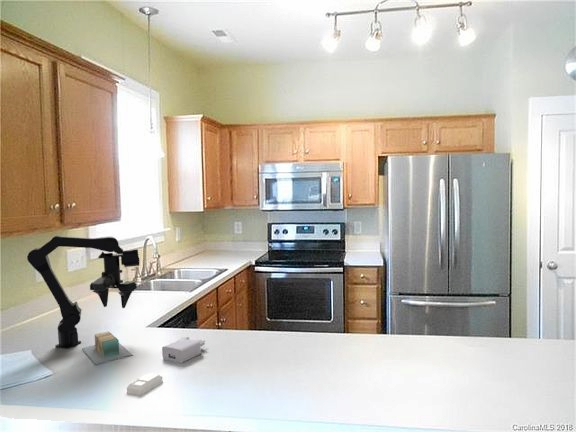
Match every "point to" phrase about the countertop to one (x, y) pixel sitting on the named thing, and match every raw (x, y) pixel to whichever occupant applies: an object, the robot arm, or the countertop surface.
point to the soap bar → (144, 384)
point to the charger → (182, 350)
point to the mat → (99, 359)
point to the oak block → (106, 344)
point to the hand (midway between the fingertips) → (114, 307)
